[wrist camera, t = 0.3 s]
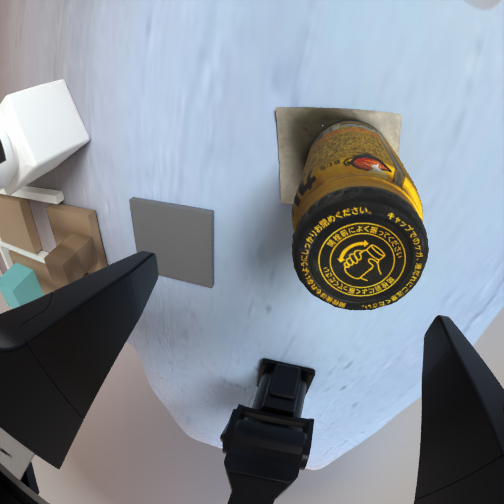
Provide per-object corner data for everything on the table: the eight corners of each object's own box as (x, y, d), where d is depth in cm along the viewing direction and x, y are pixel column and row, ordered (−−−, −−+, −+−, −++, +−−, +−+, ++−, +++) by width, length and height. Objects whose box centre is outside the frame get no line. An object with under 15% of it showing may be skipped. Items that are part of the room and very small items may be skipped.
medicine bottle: (31, 113, 24) (-59, 157, 14) (65, 77, 21) (-44, 113, 11) (55, 168, 27) (-30, 224, 17) (92, 139, 24) (-12, 197, 14)
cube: (44, 294, 39) (25, 315, 35) (26, 286, 40) (8, 305, 36) (33, 269, 36) (12, 290, 32) (16, 262, 37) (-4, 281, 33)
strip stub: (109, 271, 33) (78, 306, 28) (68, 258, 34) (38, 288, 29) (95, 210, 28) (55, 243, 23) (52, 202, 29) (15, 230, 24)
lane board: (102, 322, 40) (96, 329, 39) (20, 285, 44) (16, 290, 43) (62, 191, 28) (53, 197, 27) (-17, 180, 32) (-24, 185, 30)
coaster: (214, 284, 30) (211, 288, 29) (143, 266, 31) (140, 269, 30) (213, 210, 25) (211, 214, 25) (132, 197, 26) (129, 199, 26)
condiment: (391, 210, 21) (422, 333, 12) (281, 202, 23) (234, 316, 14) (400, 113, 17) (471, 171, 7) (276, 106, 19) (210, 153, 10)
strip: (125, 328, 39) (103, 361, 34) (28, 286, 42) (7, 309, 37) (112, 284, 34) (83, 319, 29) (13, 248, 37) (-12, 271, 33)
